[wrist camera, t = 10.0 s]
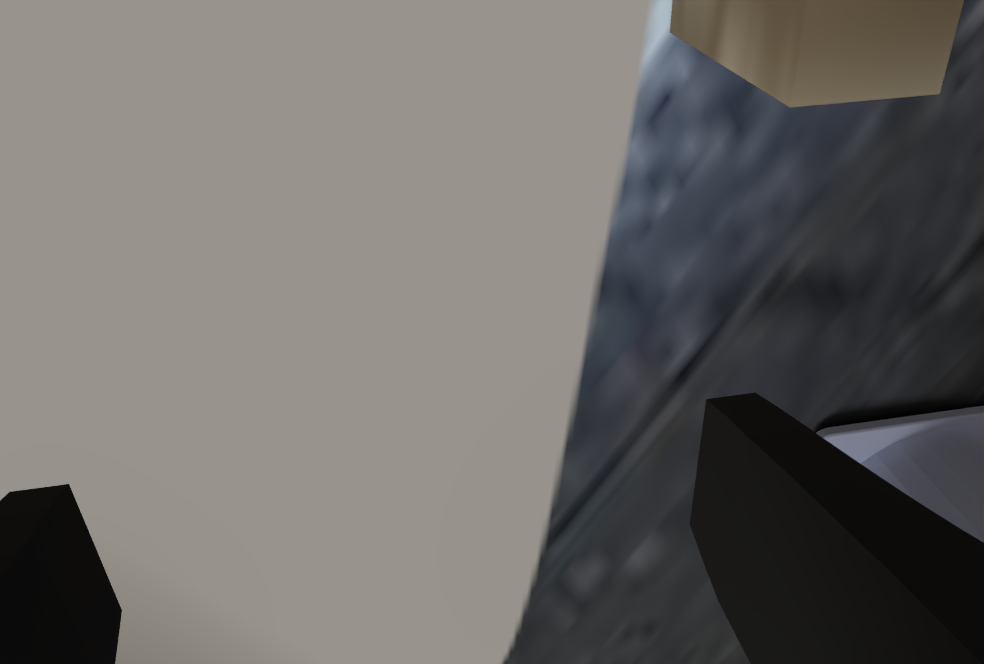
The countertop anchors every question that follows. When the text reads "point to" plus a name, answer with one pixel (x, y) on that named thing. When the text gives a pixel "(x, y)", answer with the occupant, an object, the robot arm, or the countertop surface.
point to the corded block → (825, 45)
